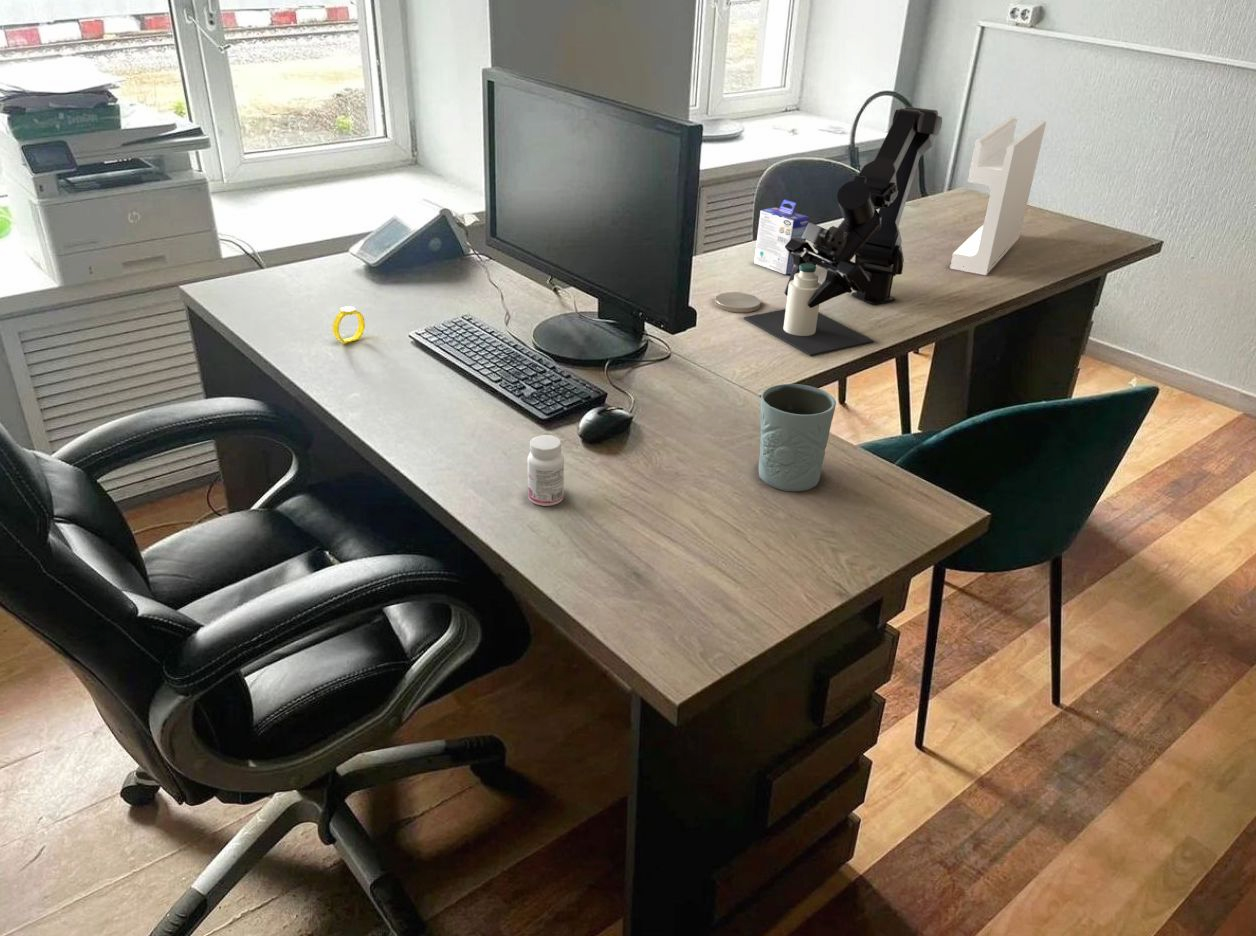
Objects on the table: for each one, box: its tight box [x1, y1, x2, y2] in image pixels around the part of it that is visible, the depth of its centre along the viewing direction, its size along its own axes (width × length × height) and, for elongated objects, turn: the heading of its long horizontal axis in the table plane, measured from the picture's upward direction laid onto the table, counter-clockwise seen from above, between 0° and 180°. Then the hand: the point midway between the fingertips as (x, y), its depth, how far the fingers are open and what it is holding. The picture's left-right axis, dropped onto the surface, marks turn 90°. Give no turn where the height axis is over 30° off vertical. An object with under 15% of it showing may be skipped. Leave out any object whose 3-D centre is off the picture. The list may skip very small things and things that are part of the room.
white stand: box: [949, 116, 1047, 276], centre depth 231 cm, size 35×8×28 cm, turn 150°
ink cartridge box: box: [753, 199, 810, 275], centre depth 218 cm, size 10×6×14 cm, turn 41°
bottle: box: [783, 263, 822, 336], centre depth 186 cm, size 6×6×12 cm
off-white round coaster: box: [714, 291, 761, 313], centre depth 200 cm, size 9×9×1 cm
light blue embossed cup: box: [758, 383, 837, 492], centre depth 139 cm, size 10×10×12 cm
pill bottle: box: [527, 434, 565, 507], centre depth 132 cm, size 5×5×8 cm
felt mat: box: [743, 308, 874, 357], centre depth 190 cm, size 15×20×1 cm
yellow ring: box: [332, 305, 366, 344], centre depth 176 cm, size 6×3×6 cm, turn 142°
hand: (797, 300), depth 185 cm, fingers open, 6 cm apart
